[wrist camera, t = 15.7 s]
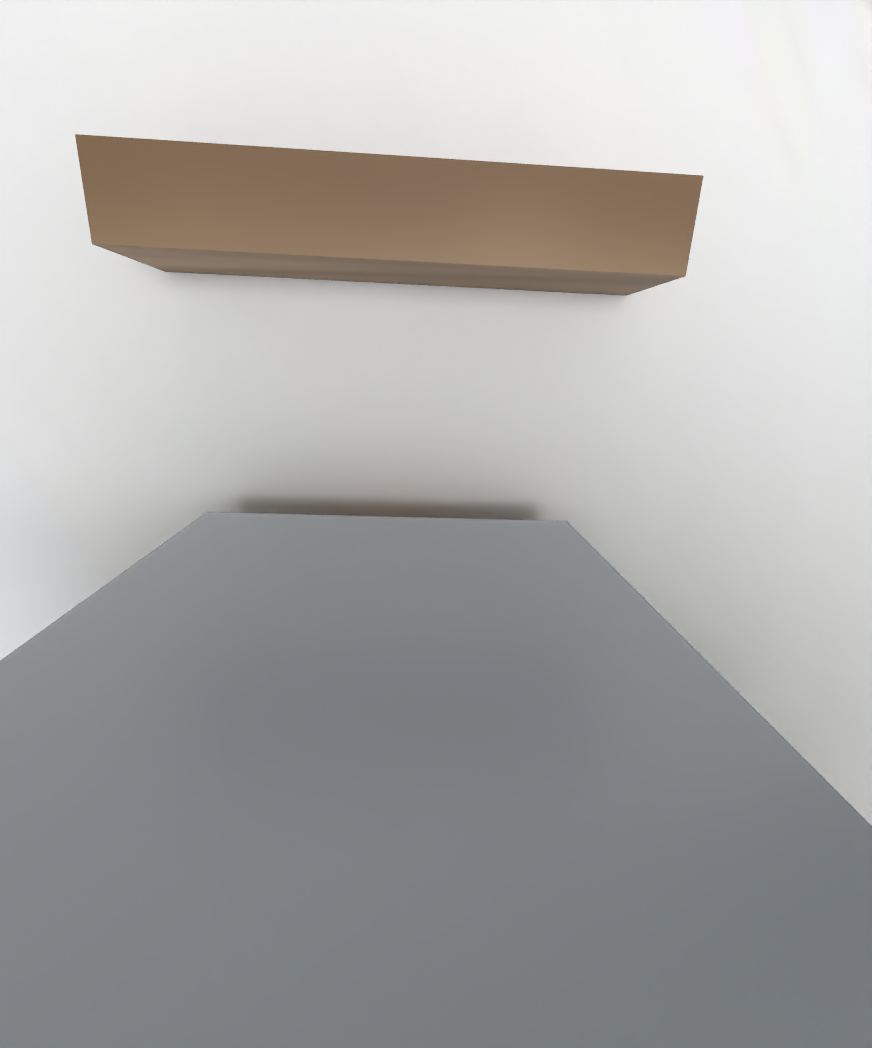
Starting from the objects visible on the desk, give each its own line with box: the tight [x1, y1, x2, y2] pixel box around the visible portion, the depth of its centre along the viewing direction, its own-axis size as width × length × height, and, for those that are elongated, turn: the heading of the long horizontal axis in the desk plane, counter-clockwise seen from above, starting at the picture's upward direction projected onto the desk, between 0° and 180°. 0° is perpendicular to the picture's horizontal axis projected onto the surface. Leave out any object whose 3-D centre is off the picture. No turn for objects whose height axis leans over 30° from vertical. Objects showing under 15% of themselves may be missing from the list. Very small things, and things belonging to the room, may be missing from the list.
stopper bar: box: [75, 134, 703, 295], centre depth 9 cm, size 2×10×2 cm, turn 88°
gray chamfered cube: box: [0, 512, 872, 1048], centre depth 8 cm, size 8×8×9 cm
